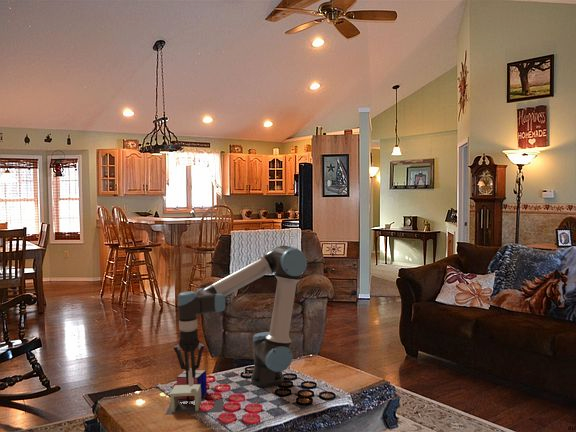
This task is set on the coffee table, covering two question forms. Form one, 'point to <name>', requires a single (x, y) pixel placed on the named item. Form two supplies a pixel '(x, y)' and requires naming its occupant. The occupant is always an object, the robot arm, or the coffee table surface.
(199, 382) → the puzzle cube
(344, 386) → the coffee table surface
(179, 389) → the stool
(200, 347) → the robot arm
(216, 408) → the mat
